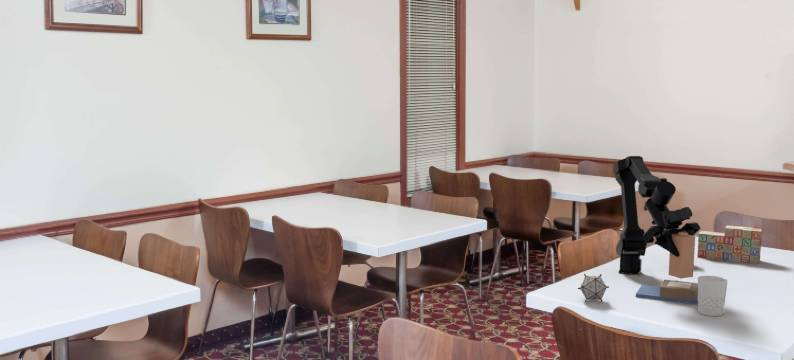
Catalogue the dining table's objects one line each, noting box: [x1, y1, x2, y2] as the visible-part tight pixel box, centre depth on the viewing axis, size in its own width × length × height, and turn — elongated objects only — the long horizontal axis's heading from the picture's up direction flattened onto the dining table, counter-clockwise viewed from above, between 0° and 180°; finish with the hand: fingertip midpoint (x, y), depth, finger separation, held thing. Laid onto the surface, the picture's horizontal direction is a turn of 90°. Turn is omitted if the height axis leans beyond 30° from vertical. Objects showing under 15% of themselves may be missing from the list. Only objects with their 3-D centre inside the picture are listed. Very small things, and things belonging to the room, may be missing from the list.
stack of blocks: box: [697, 225, 763, 265], centre depth 299 cm, size 21×6×12 cm, turn 61°
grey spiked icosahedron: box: [577, 273, 610, 303], centre depth 242 cm, size 9×8×10 cm
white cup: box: [697, 275, 728, 317], centre depth 229 cm, size 8×8×10 cm
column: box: [668, 232, 696, 279], centre depth 244 cm, size 5×5×13 cm
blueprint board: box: [635, 279, 698, 305], centre depth 247 cm, size 20×12×4 cm, turn 65°
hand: (685, 255), depth 243 cm, fingers closed on column, 5 cm apart
